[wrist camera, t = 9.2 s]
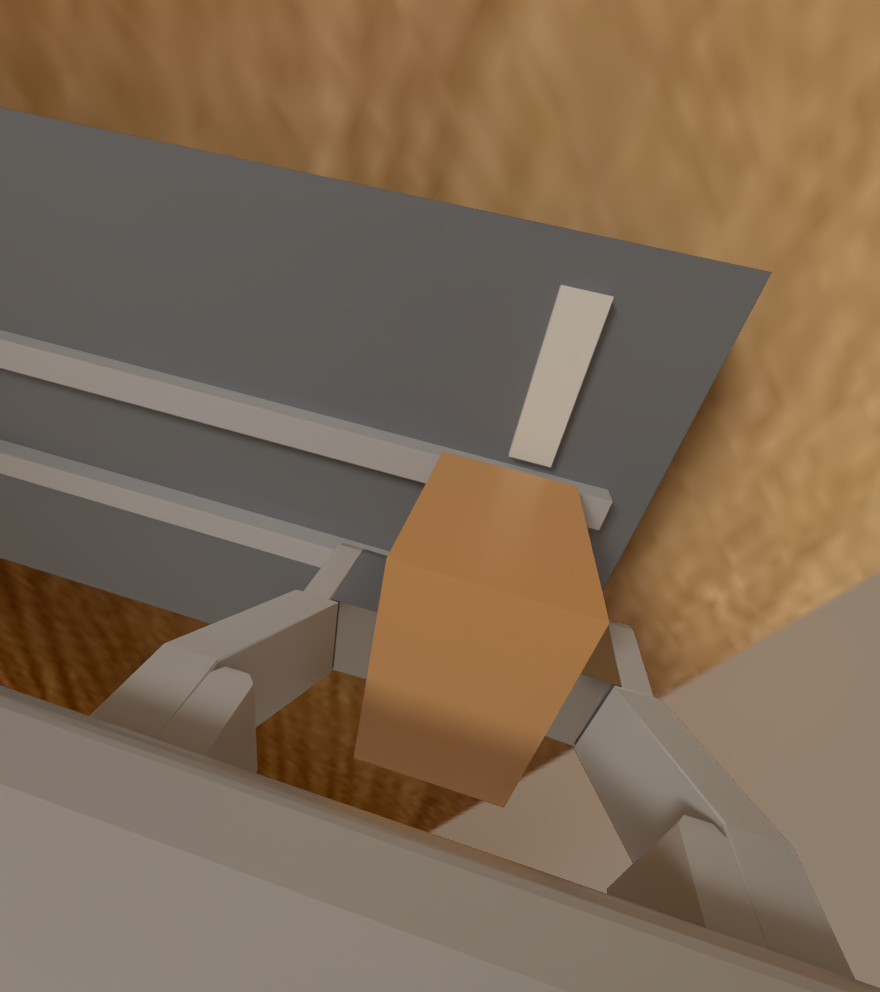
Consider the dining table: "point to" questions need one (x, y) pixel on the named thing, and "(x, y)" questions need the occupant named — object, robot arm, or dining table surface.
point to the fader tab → (479, 628)
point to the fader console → (311, 363)
